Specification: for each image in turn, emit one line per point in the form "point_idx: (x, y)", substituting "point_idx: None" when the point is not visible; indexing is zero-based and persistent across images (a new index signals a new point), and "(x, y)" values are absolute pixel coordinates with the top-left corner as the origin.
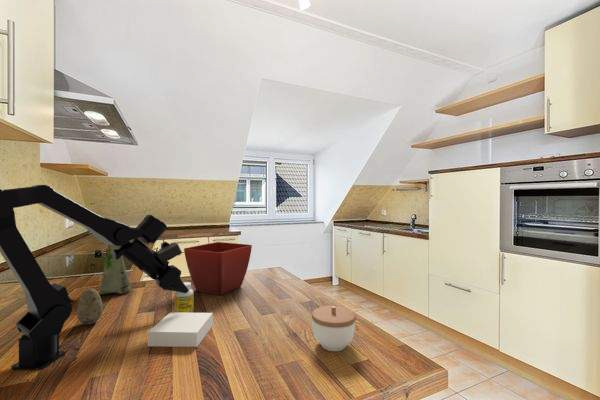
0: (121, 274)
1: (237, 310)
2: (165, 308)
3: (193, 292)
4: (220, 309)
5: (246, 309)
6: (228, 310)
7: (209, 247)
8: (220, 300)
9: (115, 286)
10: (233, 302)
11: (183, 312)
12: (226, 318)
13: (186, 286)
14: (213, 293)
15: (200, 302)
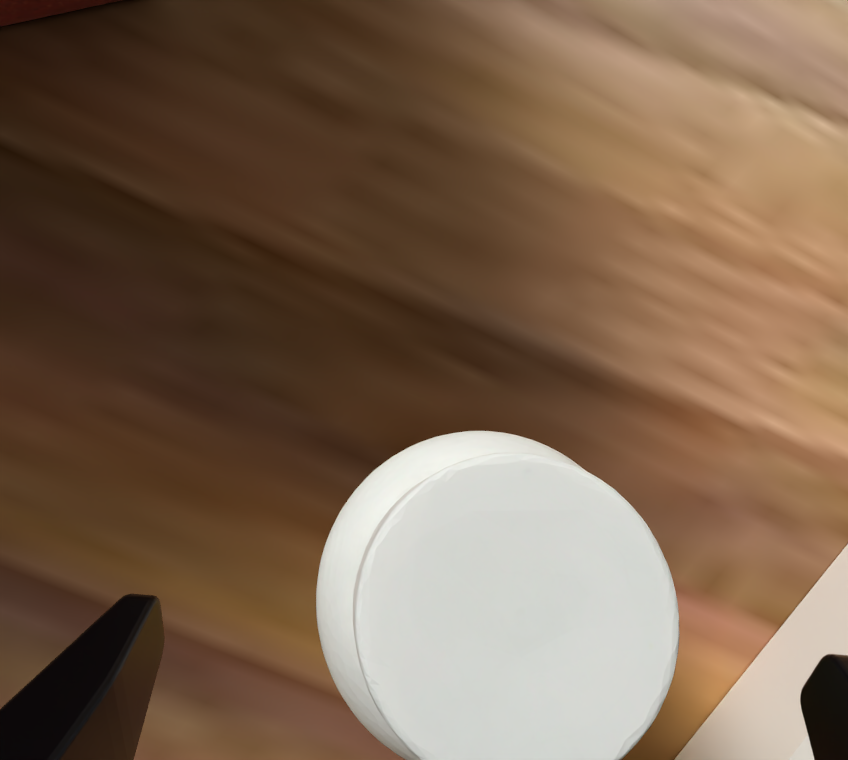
0: None
1: (705, 105)
2: None
3: (548, 448)
4: (566, 207)
5: (737, 34)
6: (647, 165)
7: None
8: (311, 69)
9: None
10: (472, 12)
11: (803, 744)
12: (827, 286)
13: (669, 623)
14: (56, 11)
15: (195, 256)
